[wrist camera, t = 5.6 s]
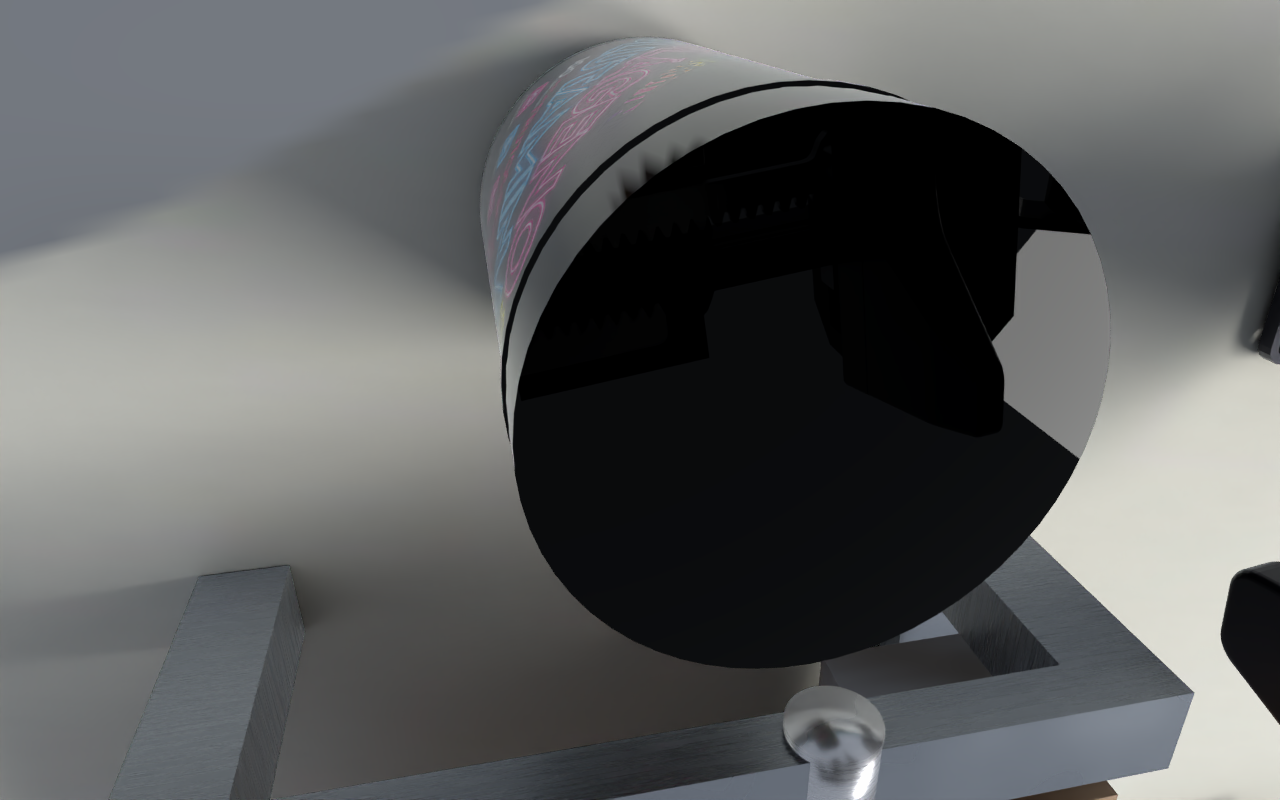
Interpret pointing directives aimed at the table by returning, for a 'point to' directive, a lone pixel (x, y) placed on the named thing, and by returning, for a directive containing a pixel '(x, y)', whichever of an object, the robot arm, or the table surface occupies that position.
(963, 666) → the trapdoor
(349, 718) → the table surface
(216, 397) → the table surface
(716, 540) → the supplement container
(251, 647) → the trapdoor stand
